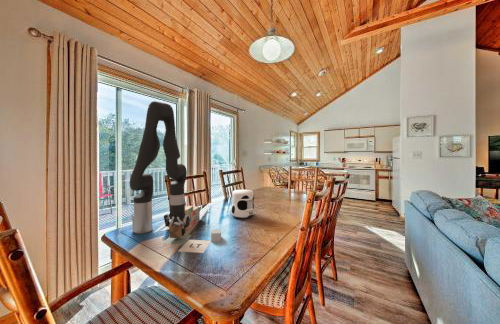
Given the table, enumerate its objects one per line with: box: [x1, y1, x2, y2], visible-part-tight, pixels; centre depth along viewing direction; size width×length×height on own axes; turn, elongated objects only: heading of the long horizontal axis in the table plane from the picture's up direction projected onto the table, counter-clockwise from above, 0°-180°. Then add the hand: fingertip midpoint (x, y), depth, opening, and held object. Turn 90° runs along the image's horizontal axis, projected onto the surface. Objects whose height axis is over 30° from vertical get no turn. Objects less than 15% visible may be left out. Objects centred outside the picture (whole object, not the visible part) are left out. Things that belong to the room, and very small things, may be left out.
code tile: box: [178, 239, 212, 254], centre depth 95 cm, size 12×12×1 cm
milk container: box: [230, 189, 256, 219], centre depth 141 cm, size 17×17×18 cm
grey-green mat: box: [162, 234, 192, 245], centre depth 103 cm, size 11×11×1 cm
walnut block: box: [169, 222, 183, 238], centre depth 102 cm, size 6×6×6 cm
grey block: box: [210, 228, 222, 243], centre depth 103 cm, size 5×5×5 cm
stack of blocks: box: [184, 205, 201, 230], centre depth 123 cm, size 21×6×12 cm, turn 170°
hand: (177, 234), depth 102 cm, fingers closed on walnut block, 5 cm apart
